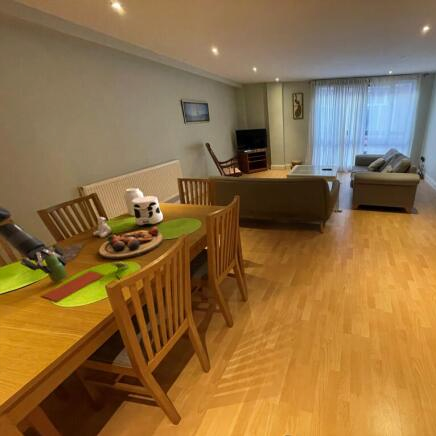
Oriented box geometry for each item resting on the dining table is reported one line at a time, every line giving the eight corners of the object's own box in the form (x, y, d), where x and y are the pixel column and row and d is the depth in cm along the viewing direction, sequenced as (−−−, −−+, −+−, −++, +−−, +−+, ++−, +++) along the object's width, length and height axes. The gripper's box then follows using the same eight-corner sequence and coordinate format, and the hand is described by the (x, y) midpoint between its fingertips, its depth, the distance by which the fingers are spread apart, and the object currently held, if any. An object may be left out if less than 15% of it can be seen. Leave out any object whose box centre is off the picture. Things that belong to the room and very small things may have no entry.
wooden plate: (159, 229, 163) (157, 218, 159) (166, 249, 138) (163, 236, 135) (101, 242, 146) (97, 229, 143) (97, 266, 122) (92, 252, 119)
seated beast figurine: (92, 235, 155) (86, 218, 150) (106, 230, 162) (101, 213, 157) (102, 238, 151) (95, 220, 147) (115, 232, 158) (110, 215, 154)
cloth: (57, 301, 98) (56, 301, 98) (42, 296, 101) (41, 295, 101) (104, 275, 115) (103, 275, 115) (90, 271, 118) (89, 271, 118)
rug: (49, 264, 124) (48, 262, 123) (63, 247, 140) (62, 246, 140) (73, 259, 128) (72, 258, 127) (84, 244, 144) (83, 242, 144)
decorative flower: (124, 267, 108) (111, 256, 117) (115, 280, 107) (103, 268, 115) (140, 272, 114) (127, 261, 123) (132, 284, 113) (119, 273, 121)
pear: (56, 282, 107) (44, 257, 102) (48, 279, 109) (36, 255, 104) (70, 275, 112) (59, 251, 107) (62, 272, 114) (52, 249, 109)
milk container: (156, 216, 184) (150, 194, 178) (168, 221, 175) (163, 198, 168) (132, 224, 171) (125, 200, 164) (143, 230, 162) (137, 204, 155)
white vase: (151, 211, 195) (145, 187, 188) (138, 216, 184) (131, 191, 176) (138, 209, 198) (132, 186, 191) (125, 215, 187) (118, 190, 180)
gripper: (7, 246, 98) (43, 273, 100) (46, 231, 111) (77, 255, 113) (3, 256, 100) (38, 282, 103) (41, 240, 114) (71, 264, 116)
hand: (58, 268), depth 108 cm, fingers closed on pear, 5 cm apart
